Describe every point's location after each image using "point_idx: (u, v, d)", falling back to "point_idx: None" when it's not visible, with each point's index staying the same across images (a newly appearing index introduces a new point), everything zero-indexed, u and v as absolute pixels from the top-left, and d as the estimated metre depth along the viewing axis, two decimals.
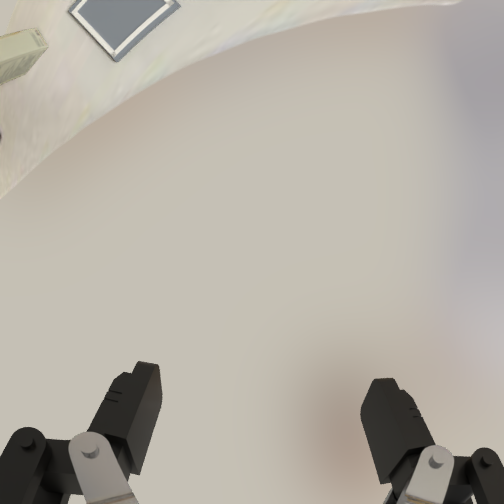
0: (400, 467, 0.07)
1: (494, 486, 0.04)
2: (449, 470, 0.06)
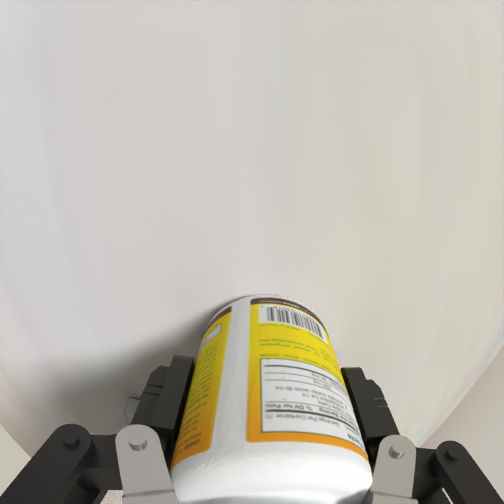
0: None
1: (466, 479, 0.05)
2: (409, 461, 0.06)
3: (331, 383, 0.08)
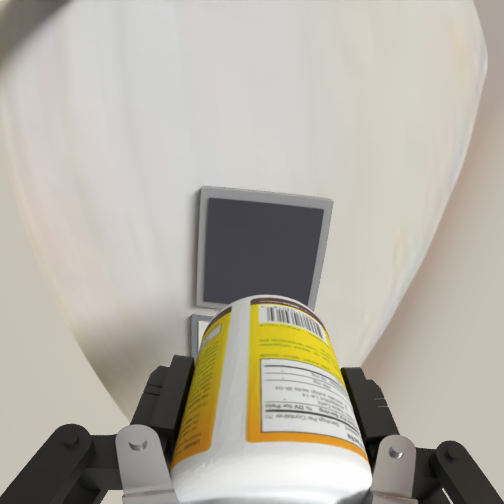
0: None
1: (466, 479, 0.05)
2: (409, 461, 0.06)
3: (331, 383, 0.08)
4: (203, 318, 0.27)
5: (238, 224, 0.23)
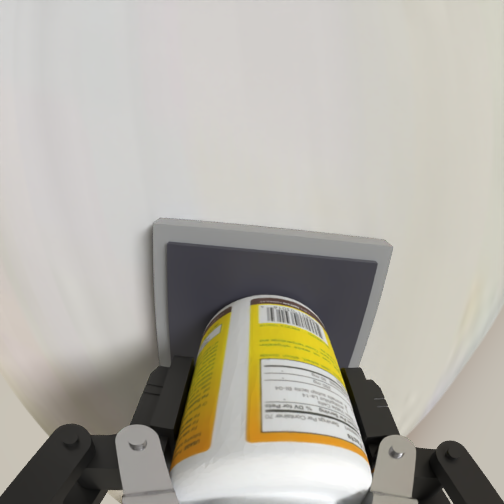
0: None
1: (466, 479, 0.05)
2: (409, 461, 0.06)
3: (331, 384, 0.08)
4: None
5: (222, 290, 0.13)
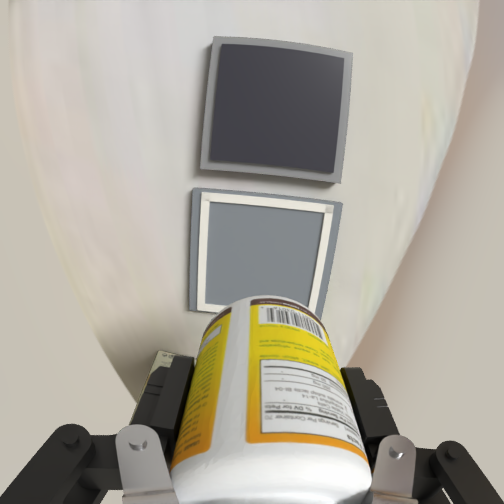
0: None
1: (466, 479, 0.05)
2: (409, 461, 0.06)
3: (330, 384, 0.08)
4: (208, 189, 0.22)
5: (253, 68, 0.18)
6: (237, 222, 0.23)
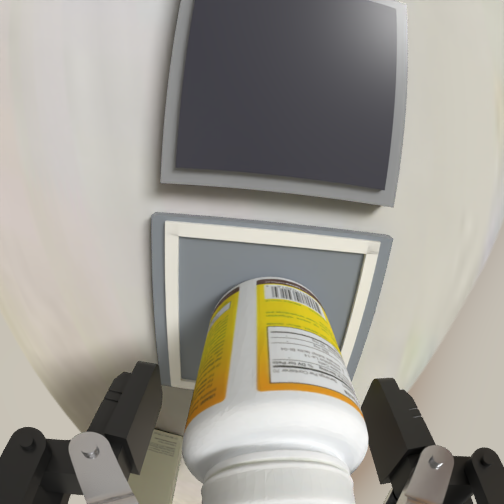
0: (400, 467, 0.07)
1: (494, 486, 0.04)
2: (449, 470, 0.06)
3: (329, 349, 0.09)
4: (176, 216, 0.13)
5: (249, 13, 0.10)
6: (224, 269, 0.14)
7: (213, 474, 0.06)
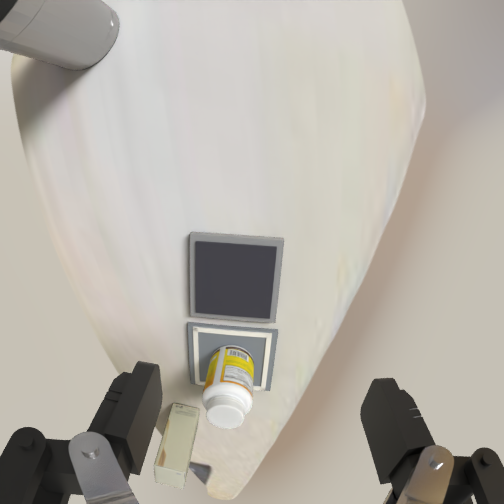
0: (400, 467, 0.07)
1: (494, 486, 0.04)
2: (449, 470, 0.06)
3: (243, 372, 0.33)
4: (196, 324, 0.37)
5: (216, 259, 0.33)
6: (215, 342, 0.38)
7: (209, 402, 0.30)
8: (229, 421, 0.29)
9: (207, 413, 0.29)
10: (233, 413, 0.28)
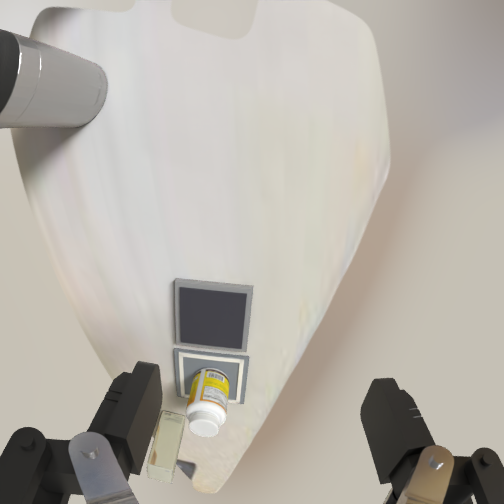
0: (400, 467, 0.07)
1: (494, 486, 0.04)
2: (449, 470, 0.06)
3: (219, 392, 0.39)
4: (181, 350, 0.43)
5: (197, 302, 0.39)
6: (197, 364, 0.44)
7: (191, 416, 0.36)
8: (207, 431, 0.35)
9: (189, 425, 0.35)
10: (210, 426, 0.35)
